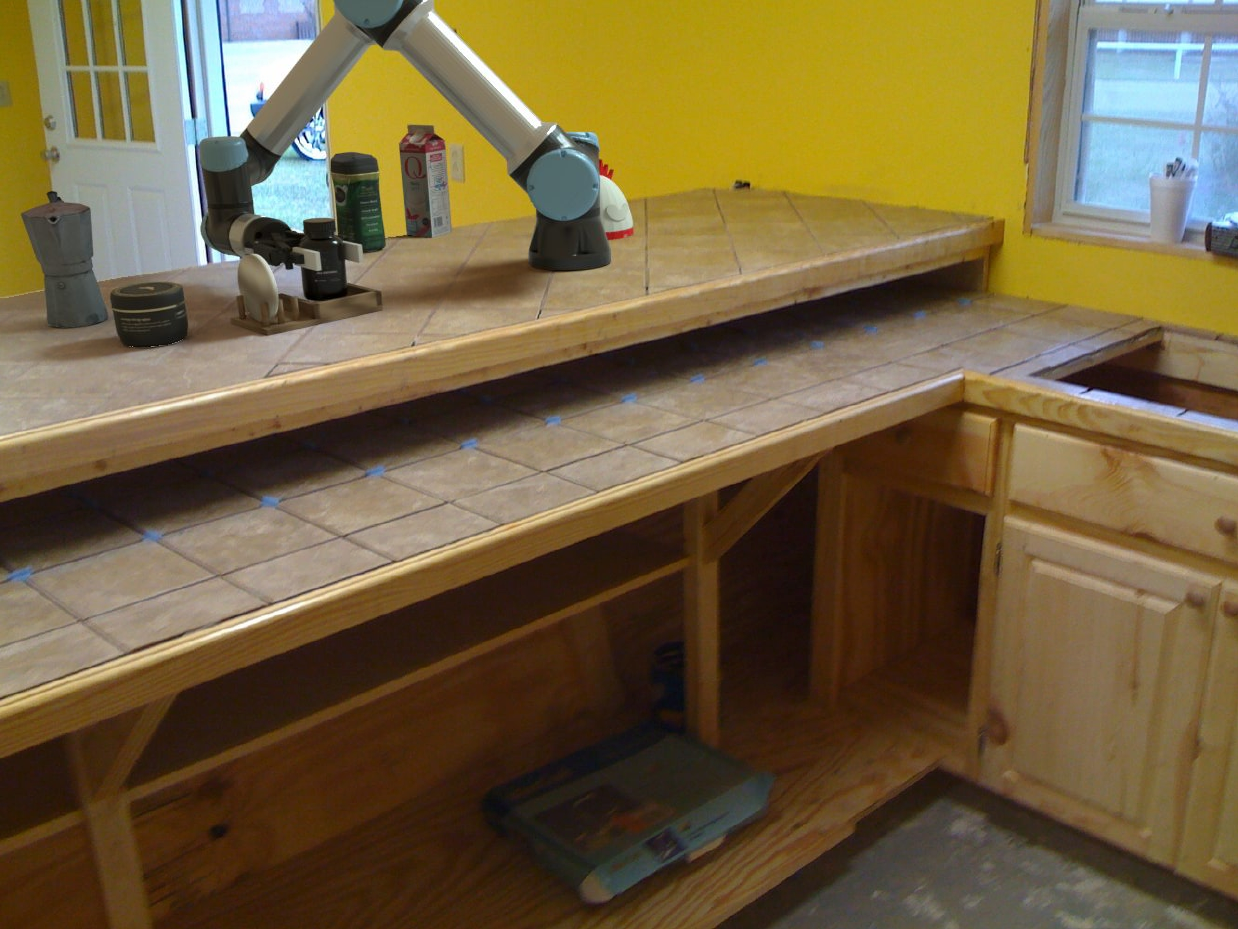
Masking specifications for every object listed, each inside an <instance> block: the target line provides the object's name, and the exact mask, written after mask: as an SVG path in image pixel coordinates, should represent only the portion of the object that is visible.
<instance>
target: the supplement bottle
mask: <svg viewBox="0 0 1238 929" xmlns="http://www.w3.org/2000/svg"><path fill="white" fill-rule="evenodd" d="M302 227H303V231H302V233H305V235H306V236H305V237H304V238H302V239H301V240H300V242H299V247H300V248H304V249H308V250H312V251H317V252H320V260H321V269H322V270H320V271H315V270H312V269H308V268H304V267H300V275H301V284H302V285H301V286H302V293H303V297H304V299H305V300H307V301H328V300H333V299H338V298H342V297H346V296H347V294H348V288H347V283H348V278H347V277H348V276H347V268H346V266H347V264H346V260H345V252H344V243H343V241H342V239H341V238H340V237H338V236H336V235H337V234H336V233H337V226H336V219H335V218H333V217H332V218H330V217H314V218H313V217H312V218H306V219H303V220H302Z"/></svg>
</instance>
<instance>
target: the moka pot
mask: <svg viewBox="0 0 1238 929" xmlns="http://www.w3.org/2000/svg"><path fill="white" fill-rule="evenodd" d="M46 196H47V199H48V201H49V202H46V203H44V204H42V205H41V204H40V205H38V206H35V207H32V208H30V209H27V210H25V211H23V212H21V213H20V216H21V218H22V219H21V220H22V221H23V222H22V223H23V225H24V227H25V231H26V233H27V235H28V238H29V242H30V244H31V247H32V249H33V253H34V256H35V258H36V260H37V262H38V263H39V264H40V267H41V272H42V274H43V275H44V276H43V281H44V282H43V283H44V295H45V309H46V321H47V322H46V324H47V325H48V326H50V327H52V326H58V327H76V328H80V327H79V326H84V327H88V325H89V326H92V324H93V325H96V324H99V323H101V322H104V321H106V320H107V319H108V318H109V311H108V309H107V305H106V303H105V300H104V297H103V294H102V292H101V289H100V286H99V283H98V280H97V277H96V275H95V272H94V270H93V267H94V265H93V260H92V258H93V257H94V245H93V244H94V243H93V242H94V240H93V227H92V226H93V225H92V213H91V212H92V210H91V207H90V206H87V205H86V204H85V205H84V204H82V203H80V202H79V203H78V202H65V200H62V198H61V197H60V196H58V191H54V190H50V191H48V192H46Z"/></svg>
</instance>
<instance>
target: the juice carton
mask: <svg viewBox="0 0 1238 929" xmlns="http://www.w3.org/2000/svg"><path fill="white" fill-rule="evenodd" d="M406 126H407V133H406V134H405V135H404V136H403V137H402V139H401V140H400V141H399V142H398V148H399V149H398V150H399V161H400V171H401V173H400V174H401V182H402V194H403V208H404V218H405V219H404V220H405V230H406V236H407V237H408V235H412V236H411V237H420V238H431V239H433V238H436V237H440V236H443V235H447V234H450V233H452V230H453V229H452V218H451V217H452V215H451V204H450V191H449V190H450V189H449V178H448V177H449V174H448V164H447V163H448V162H447V150H446V140H445V139H444V138H442V137H441V136H439V135H438V134H436V132H435V125H434V124H433V125H432V124H407V125H406Z"/></svg>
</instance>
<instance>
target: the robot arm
mask: <svg viewBox="0 0 1238 929" xmlns="http://www.w3.org/2000/svg"><path fill="white" fill-rule="evenodd" d="M332 1H333V3H334V4H333V8H334V15H333V16H332V17H331V18H330V20H328V21H327V23H326V25H325V26H324V27H323V28H322V30H321V31H320V32H319V34H317V36H316V37H315V39H314V40H313V41H312V43H311V44H310V45H309V47H308V48H307V49H306V50H305V52H304V53H303V54H302V56H301V57H300V58H299V59H298V61H297V62H296V63H295V65H294V66H293V67H292V68H291V69H290V71H289V72H288V74H287V75H286V76H285V77H284V79H283V80H282V81H281V82H280V84H279V85H278V86H277V87H276V88H275V90H274V91H273V92H272V94H271V95H270V97H269V98H268V99H267V100H266V102H265V103H264V104H263V105H262V107H261V108H260V109H259V111H257V113H256V114H255V115H254V117H252V120H251V121H250V122H249V123H248V125H247V126H246V128H245V129H244V130H243V131H242V132H241V133H240V134H239V136H237V135H235V136H230V135H228V136H227V135H226V136H212V137H205V138H202V140H201V141H200V142H199V145H198V147H199V164H200V168H201V172H202V180H203V186H204V192H205V200H206V209H207V212H206V213H205V214H204V215H203V217H202V220H201V222H200V226H199V227H200V228H199V231H200V235H201V238H202V239H203V242H204V243H205V244H206V245H207V246H208V247H209V248H210V249H212V250H215V251H217V252H219V253H220V254H223V255H228V256H233V257H238V258H242V257H244V256H245V255H250V254H257V255H260V256H261V257H262V258H263V259H264V260H265V261H266V262H267V263H268V265H269V266H271V267H275V268H278V267H279V266H281V265H282V264H284V268H285V270H287V271H289V270H290V271H291V270H294V266H296V267H300V268H301V267H304V268H308V269H312V270H315V271H320V270H322V269H321V260H320V252H317V251H312V250H308V249H304V248H300V247H299V242H300V240H301V239H302V238H304V237H305V236H306V235H305V233H304V232H298V231H296V230H293V229H291V226H289V225H288V223H286V222H285V221H283V220H281V219H278V218H274V217H268V216H265V215H260V214H256V213H255V205H254V197H253V196H254V195H253V189H252V187H254V186H256V185H259V184H261V183H264V182H265V181H266V180H267V179H268V178H269V177H270V176H271V175H272V174H273V173H274V171H275V167H276V165H277V163H278V162H279V161H280V160H281V158H282V156H283V155H284V154H285V153H286V151H287V150H288V149H289V148H290V147H291V145H292V144H293V143H294V142H295V140H297V138H298V136H299V135H300V134H301V133H302V131H304V130H305V128H306V126H307V125H308V124H309V123H310V122H311V121H312V119H313V118H314V116H316V115H317V113H318V112H319V110H320V109H321V108H322V107H323V105H324V104H325V103H326V102H327V100H328V99H329V98H330V97H331V95H333V93H334V92H335V91H336V89H338V87H339V86H340V84H341V83H342V82H343V81H344V80H345V78H346V77H347V75H348V74H349V73H350V72H351V71H352V69H353V68H354V67H355V65H356V64H357V63H358V62H359V61H360V60H361V58H362V57H363V55H364V54H365V53H366V52H367V51H368V49H369V48H370V47H372V46H377V45H378V46H379V47H380V48H381V49H382V50H383V51H388V52H389V51H391V52H392V51H394V52H398V53H399V54H400V55H401V56H402V57H404V58H405V59H406V61H408V63H410V65H411V66H412V67H414V69H415V70H416V71H418V73H419V74H421V75H422V77H423V78H424V79H425V80H427V81H428V83H429V84H431V86H433V88H435V90H436V91H437V92H438V93H439V94H440V95H442V97H443V98H444V99H445V100H446V101H448V103H449V104H450V105H451V106H452V107H453V108H454V109H455V110H457V112H458V113H459V114H460V115H461V116H462V117H464V119H466V121H467V122H468V123H469V124H470V125H471V126H472V127H473V128H474V129H475V130H476V131H477V132H478V133H479V134H480V135H481V136H482V137H483V138H484V139H485V140H486V141H487V142H488V143H489V144H490V145H491V146H492V148H494V149H495V150H496V151H497V152H498V153H499V154H500V155H501V157H503V158H504V159H505V161H506V168H507V169H506V173H507V175H508V176H509V177H510V178H511V179H512V180H513V181H514V182H515V184H517V185H518V186H519V187H520V189H522V190H523V191H524V192H525V193H526V194H527V196H528V197H529V200H530V203H532V205H533V207H534V208H535V214H536V215H535V218H536V221H535V225H534V229H533V233H532V237H531V239H530V244H529V248H528V252H527V254H528V264H529V266H532V267H534V268H537V269H543V270H550V271H551V270H552V271H553V270H554V271H576V270H588V269H596V268H599V267H604V266H606V265H608V264H610V263H612V249H611V245H610V242H609V240H608V239H607V236H606V233H605V230H604V227H603V225H602V222H601V215H600V176H599V159H600V151H601V146H600V145H599V137H598V136H597V134H596V133H594V132H590V131H589V132H588V131H565V130H564V129H563V128H562V127H561V126H560V125H559V124H558V123H557V122H546V121H545V122H544V121H542V120H541V119H540V118H539V117H538V116H537V115H536V114H535V113H534V112H533V110H531V108H529V107H528V106H527V105H526V103H525V102H524V101H523V100H521V98H520V97H519V96H518V95H517V94H516V93H515V92H514V91H513V90H512V89H511V88H510V87H509V86H508V85H507V84H506V83H505V82H504V81H503V80H502V78H500V76H498V74H497V73H496V72H495V71H493V70H492V69H491V68H490V66H488V65H487V63H486V62H485V61H484V60H483V59H482V57H480V56H479V55H478V54H477V53H476V52H475V51H474V50H473V49H472V48H471V47H470V46H469V45H468V44H467V43H466V42H465V40H463V39H462V38H461V37H460V36H459V35H458V33H456V31H455V30H454V29H452V27H451V26H450V25H449V24H448V23H447V22H446V21H445V20H444V19H443V18H442V17H441V16H440V15H439V14H438V13H437V12H436V9H435V0H332ZM335 235H336V236H338V237H340V238H341V239H342V241H343V243H344V252H345V261H348V262H354V263H357V264H362V263H365V261H364V251H363V250H362V245H361V244H356V243H351V237H346V236H343V235H342V234H341V235H338V234H335Z"/></svg>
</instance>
